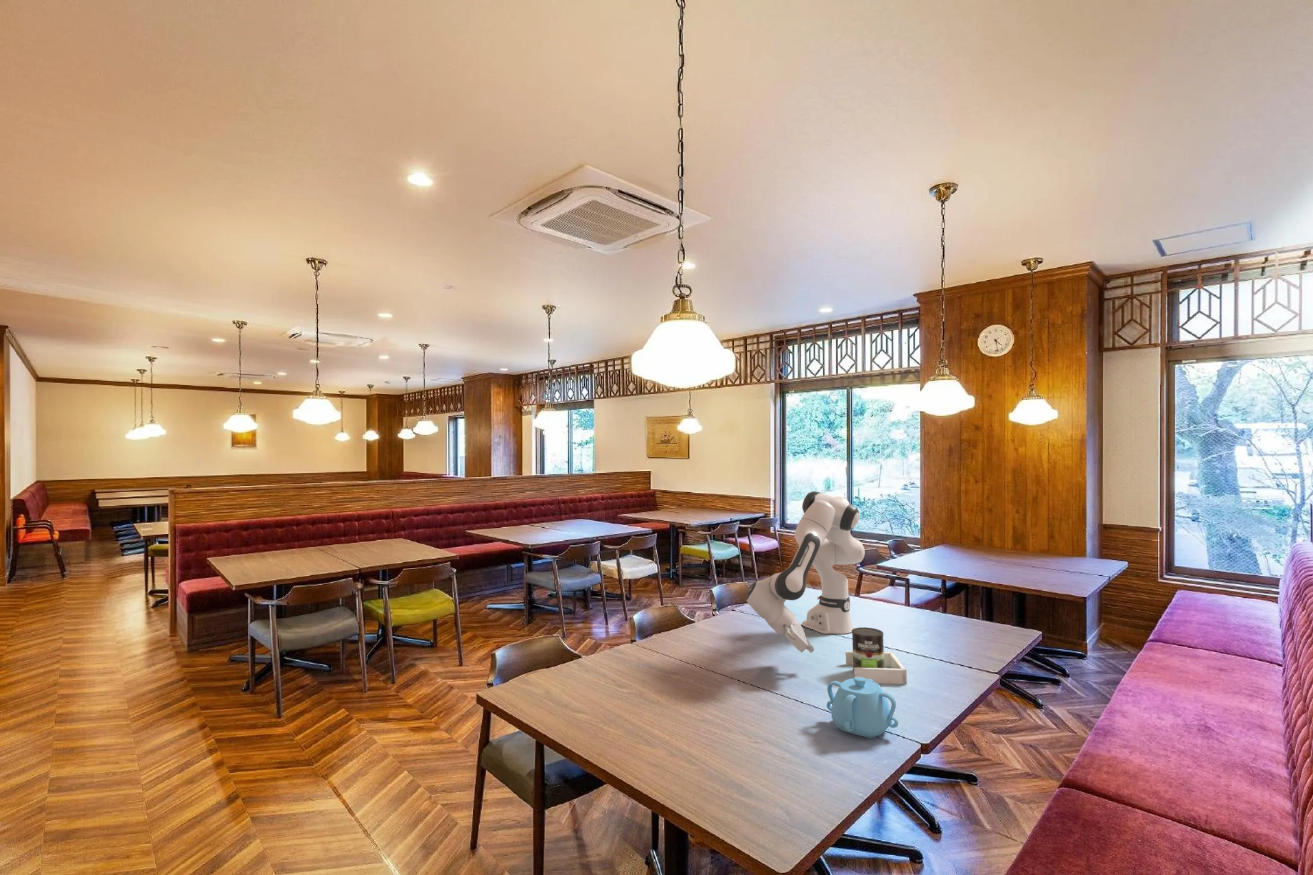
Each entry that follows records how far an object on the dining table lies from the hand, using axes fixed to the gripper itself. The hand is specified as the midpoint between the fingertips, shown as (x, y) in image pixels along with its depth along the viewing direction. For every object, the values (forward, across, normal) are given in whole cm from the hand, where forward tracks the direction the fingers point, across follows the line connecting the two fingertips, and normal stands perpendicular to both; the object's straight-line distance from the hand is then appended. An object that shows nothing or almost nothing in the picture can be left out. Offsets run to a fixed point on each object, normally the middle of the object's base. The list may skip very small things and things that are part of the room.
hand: (812, 649), depth 200 cm
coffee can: (+19, 0, -8) cm, 20 cm away
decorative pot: (+11, -42, -1) cm, 43 cm away
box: (+19, 0, -9) cm, 21 cm away
